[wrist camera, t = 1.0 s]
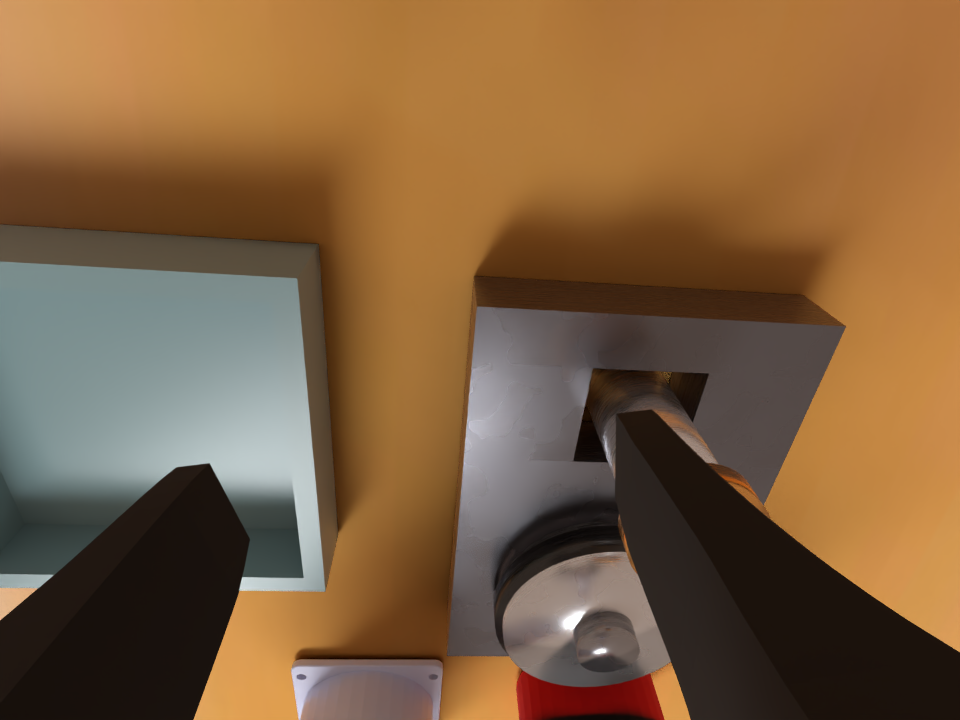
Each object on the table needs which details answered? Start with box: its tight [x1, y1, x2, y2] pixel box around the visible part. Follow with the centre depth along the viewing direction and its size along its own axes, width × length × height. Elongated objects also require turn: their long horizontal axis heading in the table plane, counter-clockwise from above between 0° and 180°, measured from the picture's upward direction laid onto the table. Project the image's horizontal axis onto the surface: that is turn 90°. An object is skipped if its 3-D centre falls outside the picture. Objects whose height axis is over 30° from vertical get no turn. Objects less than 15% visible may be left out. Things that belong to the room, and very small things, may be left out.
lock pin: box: [586, 368, 770, 573], centre depth 18 cm, size 4×4×8 cm
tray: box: [0, 224, 338, 592], centre depth 20 cm, size 14×14×3 cm
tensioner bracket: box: [447, 276, 846, 687], centre depth 22 cm, size 18×12×6 cm, turn 175°
